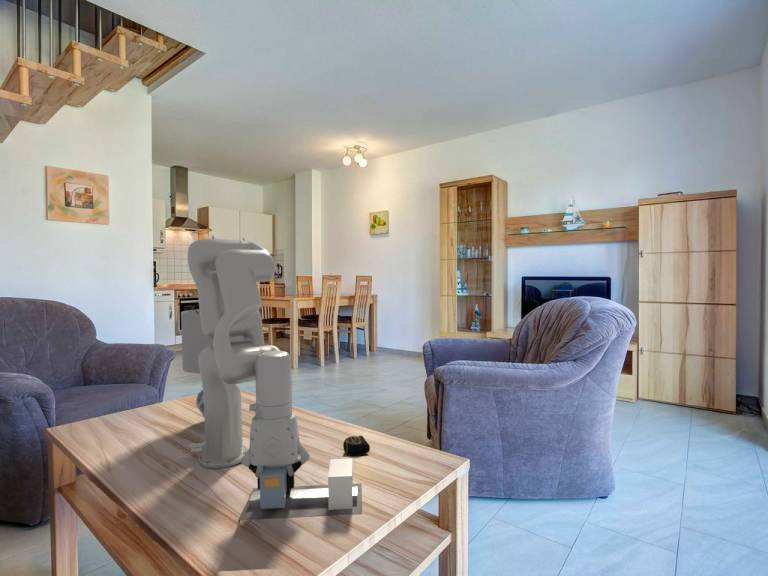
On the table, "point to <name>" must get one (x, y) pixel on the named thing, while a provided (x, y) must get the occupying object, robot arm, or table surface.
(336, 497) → the mounted module
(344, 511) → the mounting board
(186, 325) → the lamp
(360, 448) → the tape measure
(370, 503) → the table surface
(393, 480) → the table surface
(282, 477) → the block
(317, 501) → the rail
